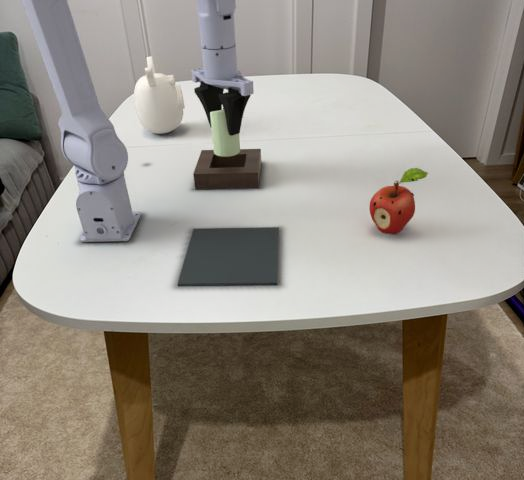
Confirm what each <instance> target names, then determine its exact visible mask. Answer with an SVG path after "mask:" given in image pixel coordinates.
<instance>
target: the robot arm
mask: <svg viewBox="0 0 524 480" xmlns="http://www.w3.org/2000/svg"><path fill="white" fill-rule="evenodd" d="M21 2H22V6H23V8H24V10H25V11H24V12H25V14H26V16H27V20H28V22H29V24H30V27H31V30H32V33H33V36H34V39H35V42H36V43H37V44H36V45H37V47H38V49H39V52H40V55H41V58H42V60H43V63H44V67H45V69H46V73H47V75H48V78H49V80H50V83H51V85H52V88H53V91H54V94H55V97H56V99H57V102H58V105H59V108H60V111H61V115H60V118H59V119H58V122H57V124H58V127H59V130H60V135H61V139H60V149H61V152H62V154H63V157H64V158H65V160H66V161H67V162H68V163H70V164H71V165H73V168H74V171H75V173H74V174H75V177H76V181H77V184H78V190H79V191H78V195H77V197H76V201H75V208H76V212H77V215H78V217H79V221H80V224H81V225H80V226H81V228H82V232H83V233H82V235H81V236H80V238H79V240H80V242H82V243H85V242H86V243H89V242H91V243H93V242H94V243H95V242H96V243H98V242H128V241H130V239H131V237H132V235H133V233H134V231H135V229H136V226H137V225H138V222H139V220H140V218H141V216H142V213H141V212H140V211H133V208H132V204H131V199H130V196H129V191H128V185H127V182H126V177H125V171H126V169H127V167H128V162H129V153H128V149H127V147H126V145H125V143H124V142H123V141H122V140H121V139H120V138H119V137H118V135H117V132H116V129H115V126H114V124H113V123H112V121H111V120H110V119H109V118H108V116H107V115H106V114H105V112H104V111H103V110H102V107H101V105H100V103H99V99H98V96H97V93H96V90H95V87H94V83H93V80H92V77H91V74H90V70H89V66H88V64H87V61H86V57H85V54H84V51H83V48H82V47H83V46H82V44H81V41H80V38H79V35H78V31H77V28H76V25H75V22H74V18H73V15H72V12H71V8H70V5H69V2H68V0H21ZM236 7H237V5H236V0H196V10H197V19H198V28H199V37H200V38H199V39H200V46H201V47H200V48H201V58H202V67H198V68H194V69H191V70H190V72H191V73H190V74H191V81H192V83H199V86H197V87H194V88H193V89H194V94H195V95H196V97H197V98H198V100H199V102H200V104H201V105H202V108H203V110H204V113H205V116H206V118H207V121H208V124H209V127H210V128H211V119H210V112H212V111H219V110H223V108H224V112H225V116H226V122H227V129H228V133H229V135H231V136H233V135H236V134H238V133H239V134H241V127H242V122H243V117H244V114H245V109H246V107H247V104H248V102H249V99H250V98H251V96H252V95H254V94H255V92H254V81H253V80H251V79H248V78H246V77H244V76H243V75H242V71H240V70H238V63H237V62H238V61H237V47H236V30H235V14H234V13H235V11H236V9H237V8H236ZM225 90H227V91H225ZM224 91H225V92H224Z"/></svg>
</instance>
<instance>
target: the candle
mask: <svg viewBox="0 0 524 480" xmlns="http://www.w3.org/2000/svg"><path fill="white" fill-rule="evenodd" d="M210 119H211V127H210V129H211V138H212V139H211V140H212V147H213V149H212V150H214V154H216V155H217V156H221V157H230V156H234V155H237V154H238V153H239V152H240V149H241V141H240V140H241V139H240V133H238V134H236V135H233V136H231V135H229V133H228V129H227V122H226V116H225V112H224V108H223V107H222V110H219V111H212V112H210Z"/></svg>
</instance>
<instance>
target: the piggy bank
mask: <svg viewBox="0 0 524 480" xmlns="http://www.w3.org/2000/svg"><path fill="white" fill-rule="evenodd" d="M144 71H145V74H144V75H143V76H141V77H140V78H139V79H138V80H137V81H136V83H135V86H134V90H133V103H134V109H135V110H134V111H135V115H136V118H137V120H138V123H140V125H141V126H142V127H143V128H144V129H145V130H146V131H148V132H150V133H153V134H157V135H160V134H161V135H163V134H167V133H170V132H173V131H174V130H175V129H178V127H179V126H180V124H181V123H182V121H183V118H184V109H185V100H184V94H183V91H182V87H181V85H176V79H175V75H174V74H169V75H166V74H164V73H161V72H156V66H155V62H154V58H153V56H152V55H150V56H146V67H145V68H144Z"/></svg>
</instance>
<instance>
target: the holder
mask: <svg viewBox="0 0 524 480" xmlns="http://www.w3.org/2000/svg"><path fill="white" fill-rule="evenodd" d="M261 171H262V148H240V152H239V153H238V154H237V155H234V156H230V157H221V156H217V155H216V154H214V149H201V151H200V154H199V156H198V160H197V162H196V165H195V168H194V171H193V173H192V175H193V183H194V189H195V190H227V189H228V190H229V189H231V190H235V189H236V190H237V189H259V188H260V180H261Z"/></svg>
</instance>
